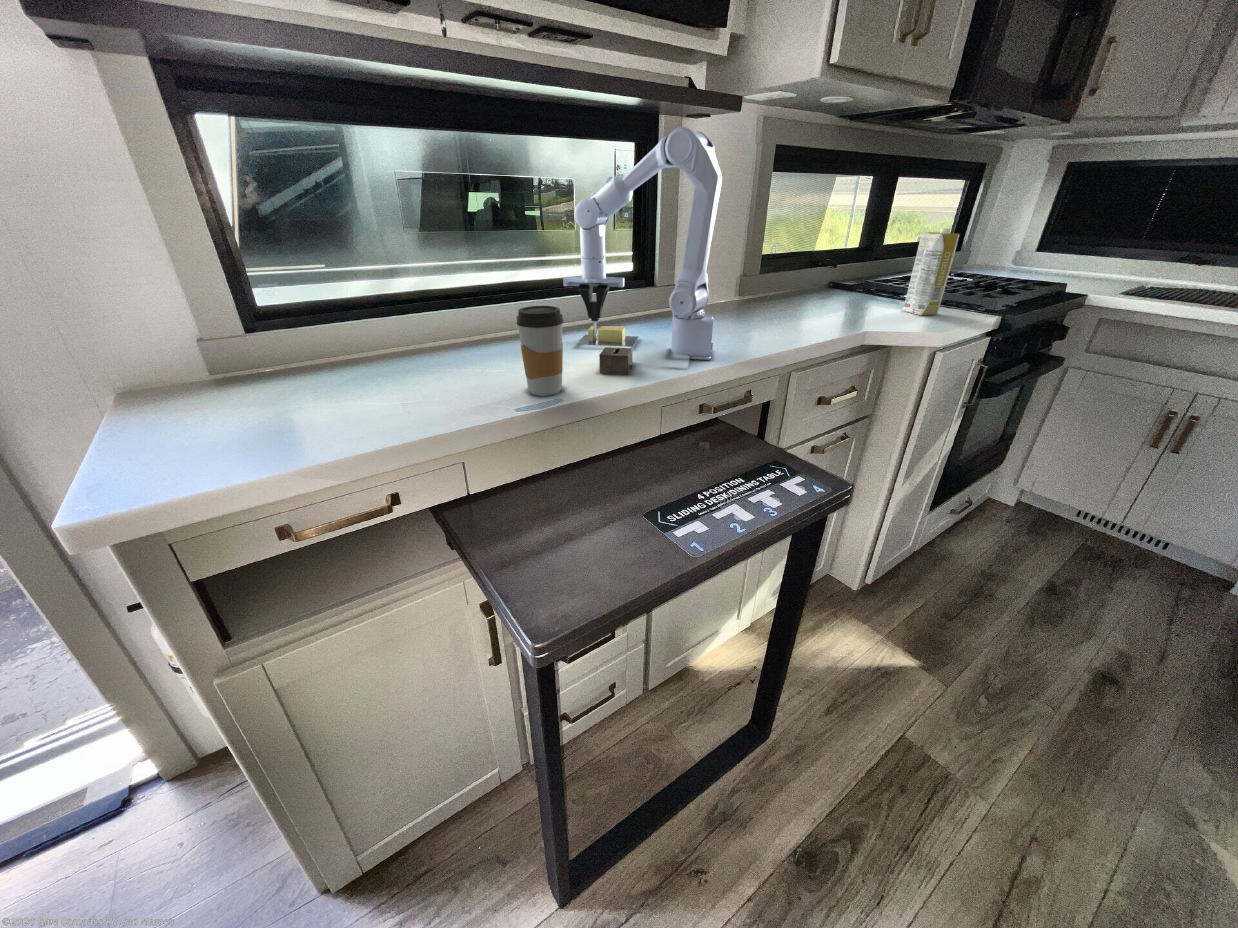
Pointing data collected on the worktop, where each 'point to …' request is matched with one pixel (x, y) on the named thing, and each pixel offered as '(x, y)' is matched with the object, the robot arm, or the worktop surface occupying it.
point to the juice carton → (930, 272)
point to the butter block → (611, 334)
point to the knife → (594, 317)
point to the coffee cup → (541, 348)
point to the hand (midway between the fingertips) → (594, 317)
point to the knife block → (616, 360)
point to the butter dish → (627, 342)
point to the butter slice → (591, 334)
